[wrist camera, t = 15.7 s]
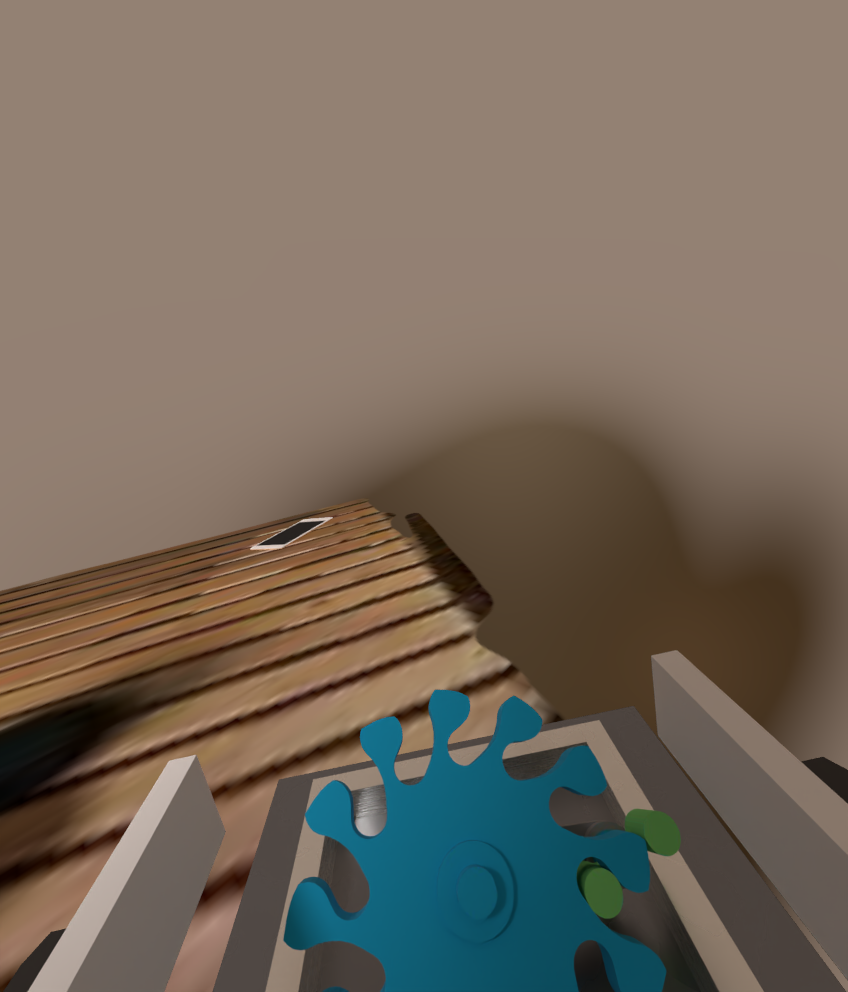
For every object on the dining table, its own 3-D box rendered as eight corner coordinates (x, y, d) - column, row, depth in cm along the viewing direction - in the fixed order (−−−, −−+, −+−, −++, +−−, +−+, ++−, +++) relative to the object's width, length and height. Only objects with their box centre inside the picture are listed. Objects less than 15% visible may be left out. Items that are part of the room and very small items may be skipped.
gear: (262, 1287, 8) (288, 703, 14) (316, 1095, 13) (320, 723, 19) (805, 1162, 9) (631, 663, 15) (665, 1026, 14) (574, 692, 20)
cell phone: (334, 519, 92) (333, 516, 91) (282, 551, 78) (281, 547, 77) (304, 521, 95) (304, 519, 95) (249, 552, 81) (248, 548, 81)
